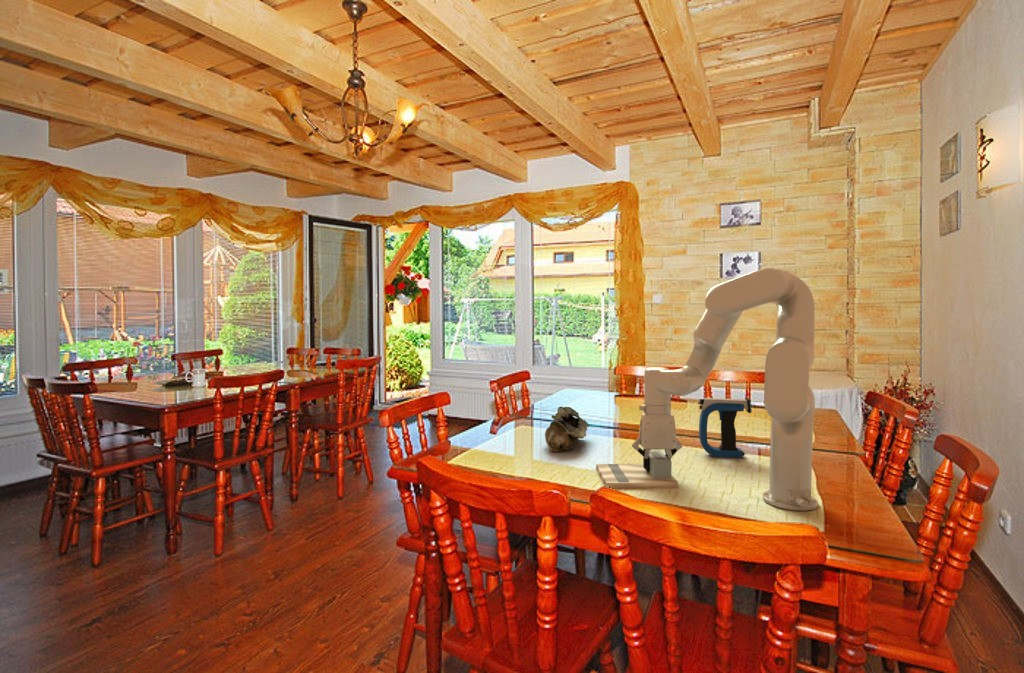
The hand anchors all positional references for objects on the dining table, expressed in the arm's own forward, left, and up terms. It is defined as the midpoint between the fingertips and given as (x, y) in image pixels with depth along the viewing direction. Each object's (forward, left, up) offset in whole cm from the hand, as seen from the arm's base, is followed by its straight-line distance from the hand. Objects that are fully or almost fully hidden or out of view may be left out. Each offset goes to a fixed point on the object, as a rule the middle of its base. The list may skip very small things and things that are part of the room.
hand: (656, 469), depth 161 cm
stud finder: (0, 0, -1) cm, 1 cm away
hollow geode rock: (+39, +22, -3) cm, 45 cm away
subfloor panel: (0, +6, -2) cm, 7 cm away
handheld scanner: (+22, -29, -3) cm, 36 cm away
